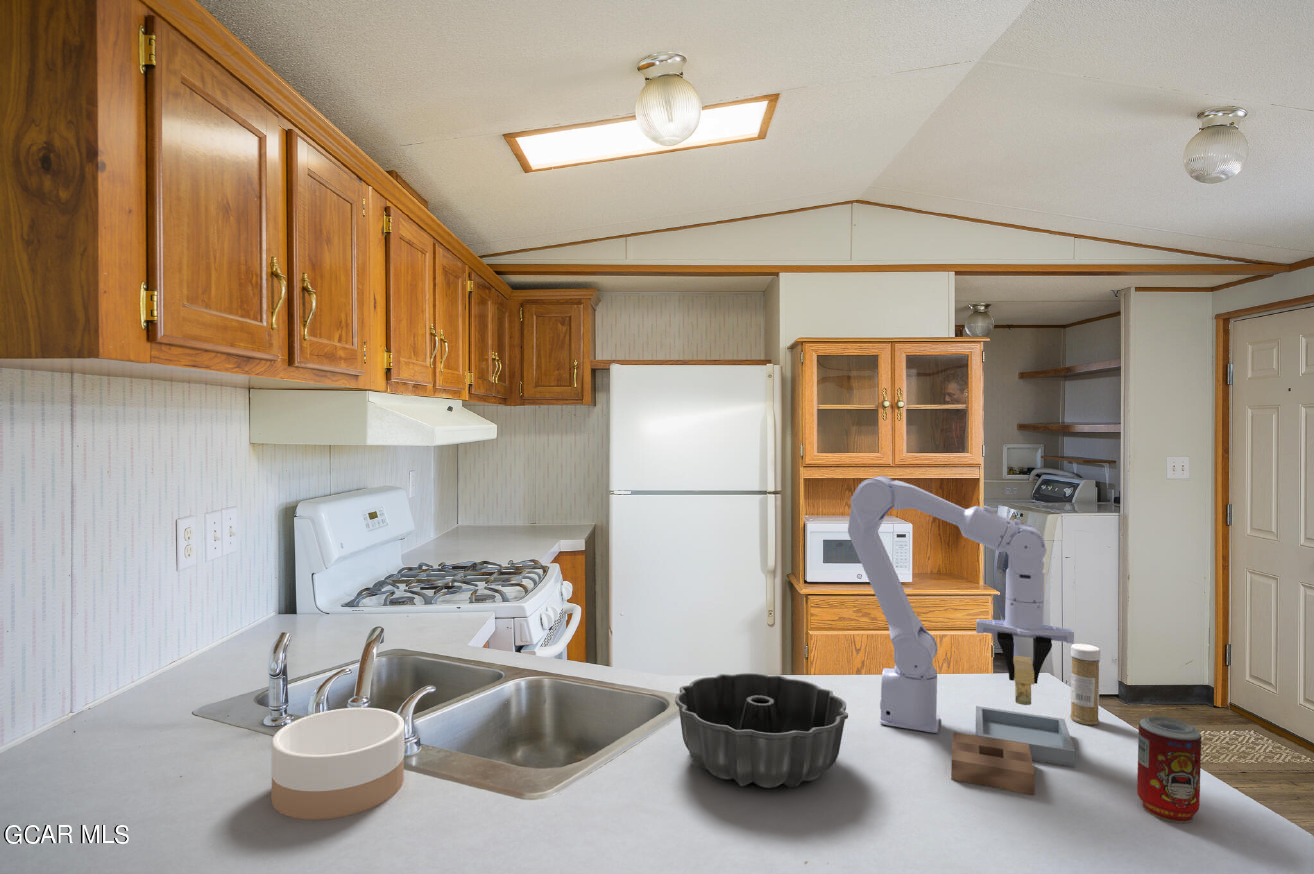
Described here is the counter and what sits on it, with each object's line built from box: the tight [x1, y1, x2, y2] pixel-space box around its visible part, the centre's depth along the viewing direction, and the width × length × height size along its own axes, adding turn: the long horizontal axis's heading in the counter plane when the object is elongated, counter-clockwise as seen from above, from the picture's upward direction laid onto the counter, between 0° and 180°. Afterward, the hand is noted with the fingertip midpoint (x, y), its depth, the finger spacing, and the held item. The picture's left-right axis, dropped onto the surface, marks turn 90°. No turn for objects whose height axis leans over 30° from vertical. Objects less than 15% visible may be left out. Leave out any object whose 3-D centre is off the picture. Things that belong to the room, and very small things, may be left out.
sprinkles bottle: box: [1069, 643, 1101, 726], centre depth 133 cm, size 5×5×14 cm
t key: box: [1013, 655, 1035, 706], centre depth 123 cm, size 8×3×7 cm, turn 157°
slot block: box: [950, 731, 1035, 796], centre depth 112 cm, size 11×11×3 cm
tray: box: [975, 705, 1076, 768], centre depth 123 cm, size 14×14×2 cm
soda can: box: [1136, 715, 1202, 824], centre depth 101 cm, size 7×7×12 cm
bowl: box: [270, 707, 405, 821], centre depth 104 cm, size 17×17×8 cm
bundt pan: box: [674, 672, 849, 789], centre depth 114 cm, size 26×26×10 cm
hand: (1022, 680), depth 123 cm, fingers closed on t key, 3 cm apart
